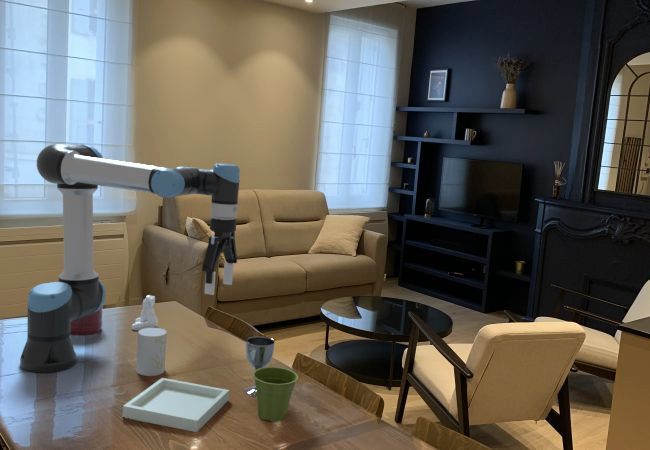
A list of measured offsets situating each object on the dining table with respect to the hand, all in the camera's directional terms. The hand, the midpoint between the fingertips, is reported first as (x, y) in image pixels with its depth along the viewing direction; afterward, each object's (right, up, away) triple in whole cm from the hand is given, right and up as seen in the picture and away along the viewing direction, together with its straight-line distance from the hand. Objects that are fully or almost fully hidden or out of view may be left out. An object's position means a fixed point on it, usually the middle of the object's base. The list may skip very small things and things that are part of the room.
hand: (218, 289), depth 184 cm
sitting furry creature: (-34, -18, +43) cm, 57 cm away
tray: (-7, -29, -21) cm, 36 cm away
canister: (-53, -18, +34) cm, 66 cm away
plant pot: (+17, -31, -20) cm, 41 cm away
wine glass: (+12, -29, -5) cm, 32 cm away
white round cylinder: (-21, -25, +3) cm, 33 cm away
